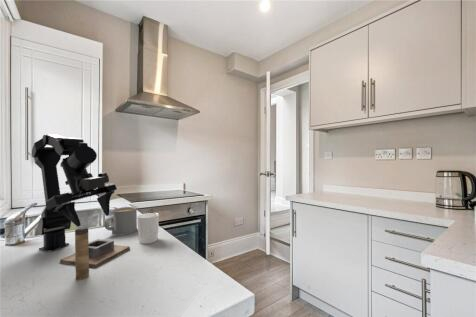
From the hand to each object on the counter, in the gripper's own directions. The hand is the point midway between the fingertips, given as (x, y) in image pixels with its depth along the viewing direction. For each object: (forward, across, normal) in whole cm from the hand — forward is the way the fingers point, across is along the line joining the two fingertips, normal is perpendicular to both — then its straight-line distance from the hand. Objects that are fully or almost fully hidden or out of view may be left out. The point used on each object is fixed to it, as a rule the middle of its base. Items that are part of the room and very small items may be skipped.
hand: (94, 220), depth 70 cm
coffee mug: (+8, +23, +23) cm, 33 cm away
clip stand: (+11, +2, +9) cm, 14 cm away
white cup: (+15, +19, +4) cm, 25 cm away
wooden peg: (+13, -8, 0) cm, 16 cm away
